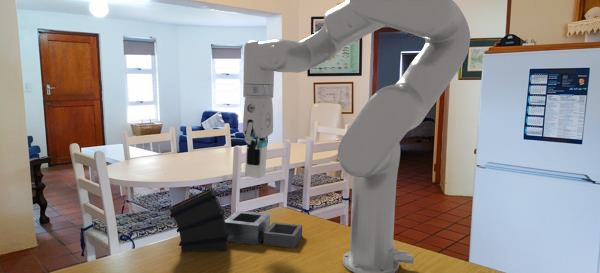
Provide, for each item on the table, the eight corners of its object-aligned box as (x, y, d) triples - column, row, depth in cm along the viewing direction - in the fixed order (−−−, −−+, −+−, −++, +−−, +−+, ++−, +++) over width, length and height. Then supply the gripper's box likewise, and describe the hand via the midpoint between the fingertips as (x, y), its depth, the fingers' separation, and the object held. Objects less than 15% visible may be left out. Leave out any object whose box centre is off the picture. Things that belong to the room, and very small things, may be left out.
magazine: (239, 245, 99) (211, 190, 97) (189, 268, 99) (160, 214, 97) (240, 238, 103) (213, 186, 101) (192, 261, 103) (164, 209, 101)
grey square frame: (302, 236, 110) (302, 225, 109) (294, 247, 102) (294, 236, 102) (273, 232, 112) (273, 222, 111) (263, 244, 104) (263, 232, 104)
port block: (269, 231, 113) (270, 213, 112) (257, 244, 104) (258, 225, 103) (237, 227, 115) (237, 210, 114) (223, 240, 106) (222, 222, 105)
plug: (265, 174, 108) (267, 141, 107) (259, 178, 104) (262, 143, 103) (250, 172, 109) (252, 139, 108) (244, 175, 105) (246, 141, 104)
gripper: (261, 93, 94) (258, 171, 97) (282, 91, 110) (280, 158, 113) (230, 91, 96) (229, 168, 99) (256, 89, 112) (254, 155, 115)
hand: (256, 162), depth 106 cm, fingers closed on plug, 4 cm apart
